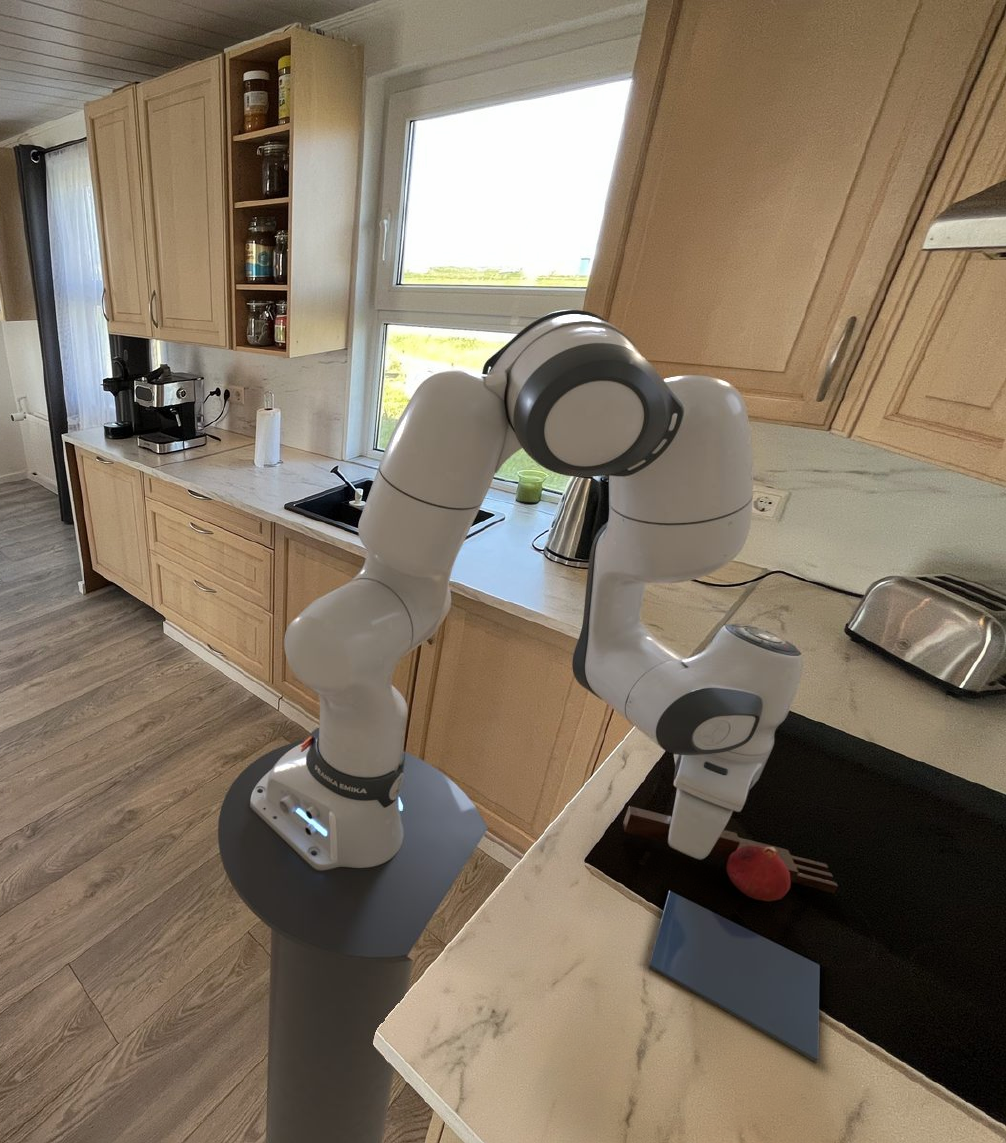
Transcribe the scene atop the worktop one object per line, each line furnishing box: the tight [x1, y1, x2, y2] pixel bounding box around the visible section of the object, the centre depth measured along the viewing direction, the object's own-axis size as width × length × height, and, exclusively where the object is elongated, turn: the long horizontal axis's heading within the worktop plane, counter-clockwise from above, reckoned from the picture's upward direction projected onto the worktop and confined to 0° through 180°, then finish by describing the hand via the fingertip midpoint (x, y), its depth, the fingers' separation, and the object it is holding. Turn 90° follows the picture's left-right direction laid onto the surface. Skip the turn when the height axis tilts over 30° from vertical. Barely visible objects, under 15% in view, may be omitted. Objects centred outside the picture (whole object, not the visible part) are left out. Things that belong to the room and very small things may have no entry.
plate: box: [648, 890, 821, 1063], centre depth 67 cm, size 14×12×1 cm
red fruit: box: [726, 846, 792, 902], centre depth 74 cm, size 6×6×8 cm
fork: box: [622, 805, 839, 894], centre depth 79 cm, size 22×4×3 cm, turn 67°
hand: (684, 833), depth 80 cm, fingers closed on fork, 2 cm apart
